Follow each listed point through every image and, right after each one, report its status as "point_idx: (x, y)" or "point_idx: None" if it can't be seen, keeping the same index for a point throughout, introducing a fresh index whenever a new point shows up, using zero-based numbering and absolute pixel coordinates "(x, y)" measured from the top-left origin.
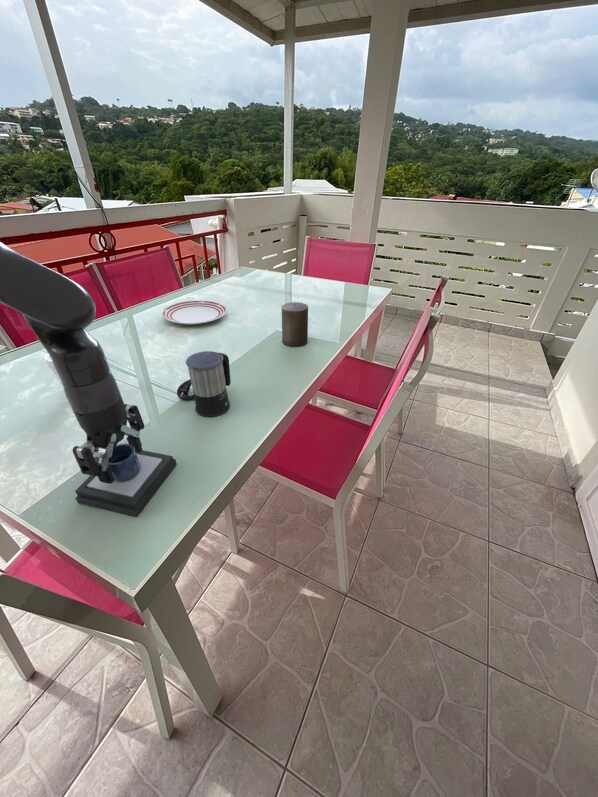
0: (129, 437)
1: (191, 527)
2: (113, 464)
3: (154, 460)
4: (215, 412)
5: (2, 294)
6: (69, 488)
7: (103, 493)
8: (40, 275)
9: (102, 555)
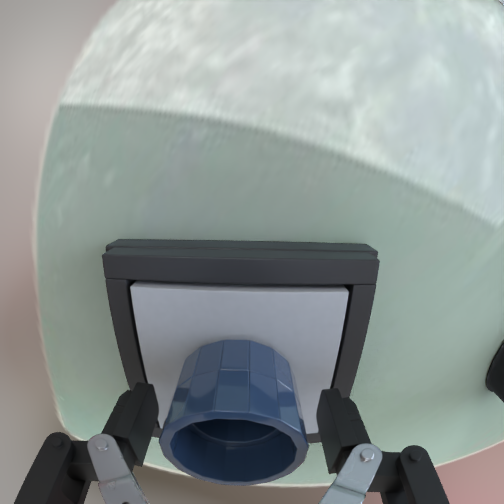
0: (342, 456)
1: (177, 473)
2: (170, 461)
3: (308, 421)
4: (492, 387)
5: None
6: (159, 155)
7: (133, 357)
8: None
9: (64, 379)
